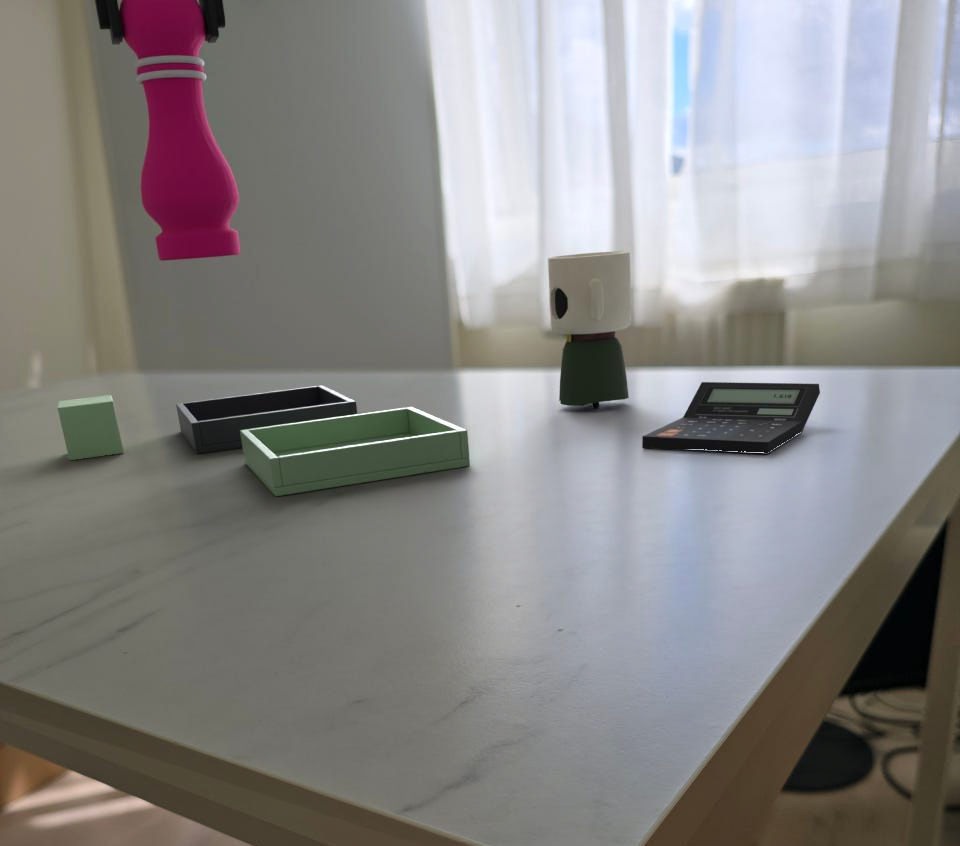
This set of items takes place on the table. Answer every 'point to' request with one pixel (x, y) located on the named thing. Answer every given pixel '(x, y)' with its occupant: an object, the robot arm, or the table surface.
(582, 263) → the character mug
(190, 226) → the pepper mill
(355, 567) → the table surface
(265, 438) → the sage tray
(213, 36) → the robot arm
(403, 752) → the table surface
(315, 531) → the table surface
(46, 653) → the table surface
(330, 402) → the dark tray
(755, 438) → the calculator
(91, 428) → the sage block
